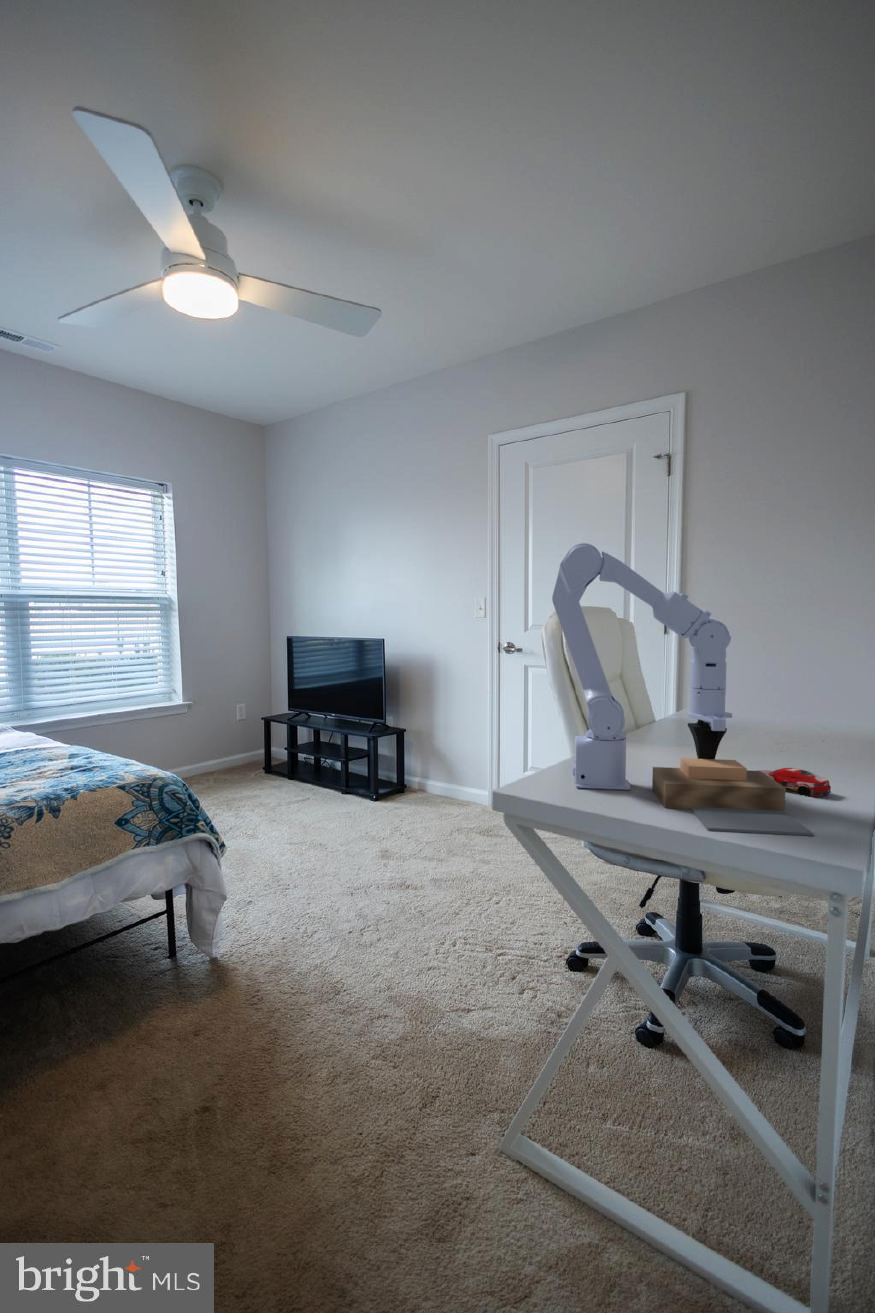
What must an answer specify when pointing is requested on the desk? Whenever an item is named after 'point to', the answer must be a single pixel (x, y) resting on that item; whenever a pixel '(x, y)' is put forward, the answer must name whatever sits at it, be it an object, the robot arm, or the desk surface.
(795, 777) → the race car
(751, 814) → the mat
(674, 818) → the desk surface
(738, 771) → the tan wooden block
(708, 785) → the brown wooden flat block
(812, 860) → the desk surface
